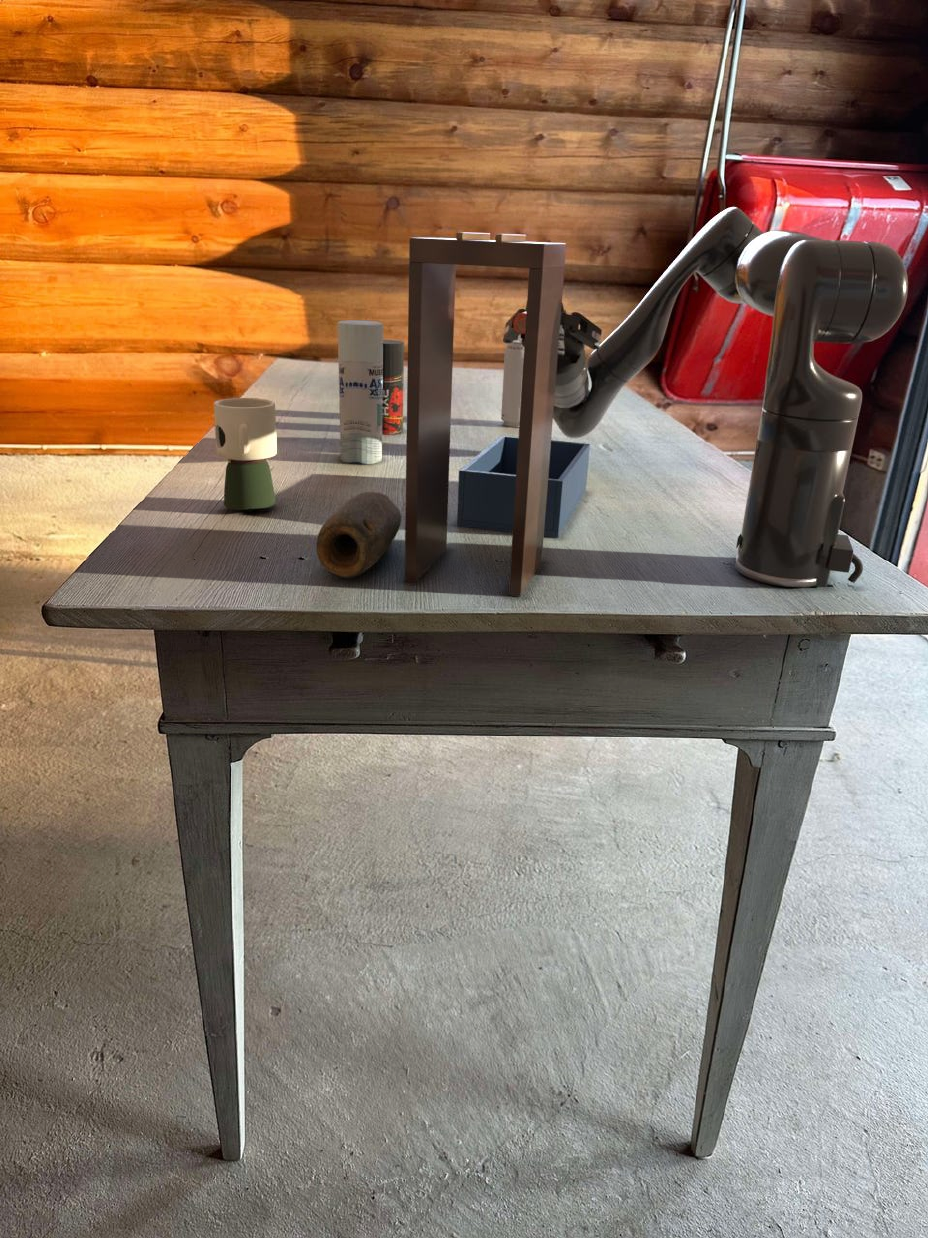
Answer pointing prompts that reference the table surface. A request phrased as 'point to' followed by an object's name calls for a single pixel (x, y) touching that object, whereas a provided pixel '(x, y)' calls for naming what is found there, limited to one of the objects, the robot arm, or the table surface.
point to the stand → (434, 391)
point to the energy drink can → (512, 384)
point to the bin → (494, 481)
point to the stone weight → (358, 534)
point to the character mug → (246, 450)
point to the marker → (520, 322)
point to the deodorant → (392, 387)
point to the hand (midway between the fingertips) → (542, 303)
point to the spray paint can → (360, 390)
